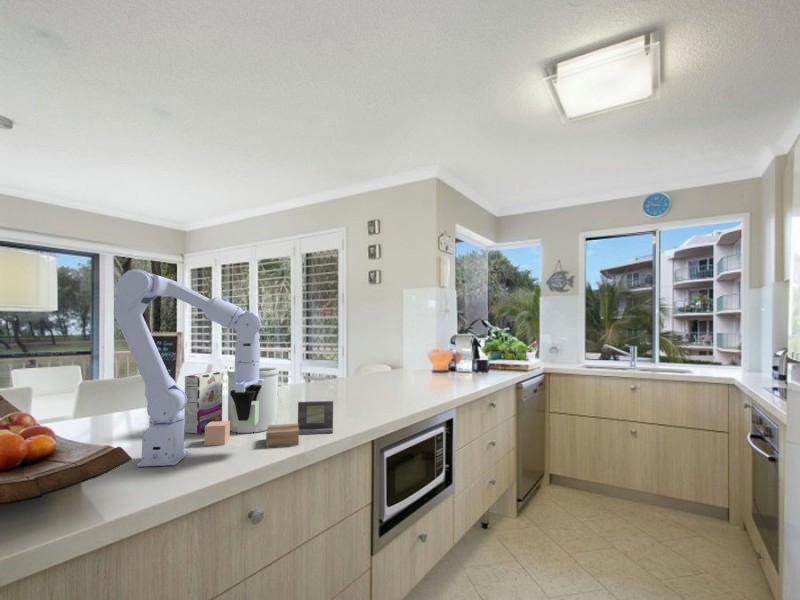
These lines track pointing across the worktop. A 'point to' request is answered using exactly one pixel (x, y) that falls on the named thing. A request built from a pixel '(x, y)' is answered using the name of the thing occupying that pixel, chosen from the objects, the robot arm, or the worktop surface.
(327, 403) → the dark grey box
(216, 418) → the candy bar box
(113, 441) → the worktop surface
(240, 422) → the sage cube
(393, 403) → the worktop surface
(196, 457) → the worktop surface
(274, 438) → the walnut base block
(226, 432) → the terracotta cube
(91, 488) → the worktop surface
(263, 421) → the utensil holder
